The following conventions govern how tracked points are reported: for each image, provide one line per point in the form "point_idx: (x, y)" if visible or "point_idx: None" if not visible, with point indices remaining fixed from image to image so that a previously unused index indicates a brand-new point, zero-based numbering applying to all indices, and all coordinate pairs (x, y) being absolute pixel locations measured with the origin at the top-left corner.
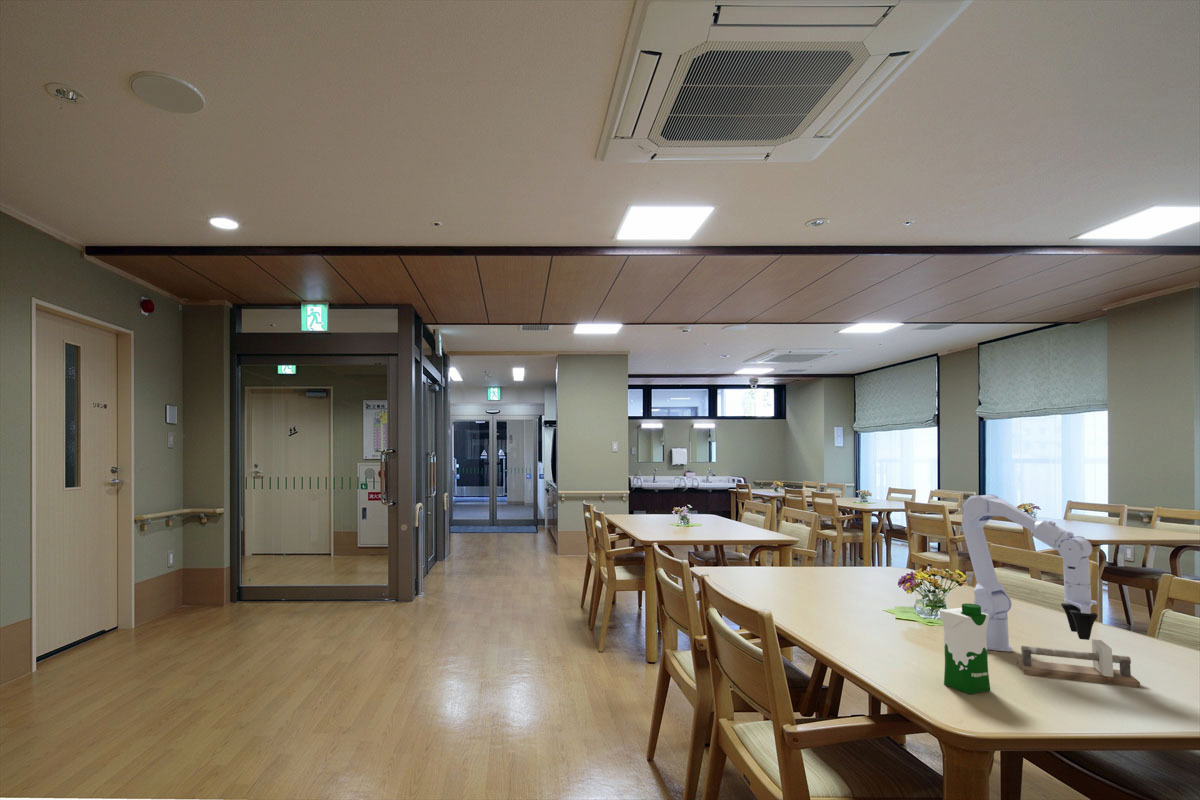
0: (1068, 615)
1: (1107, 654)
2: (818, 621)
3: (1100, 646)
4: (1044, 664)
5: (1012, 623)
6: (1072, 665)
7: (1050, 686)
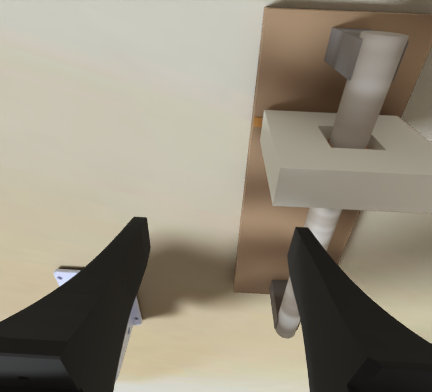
0: (125, 331)
1: None
2: None
3: (422, 212)
4: (266, 254)
5: None
6: (251, 193)
7: (410, 264)
